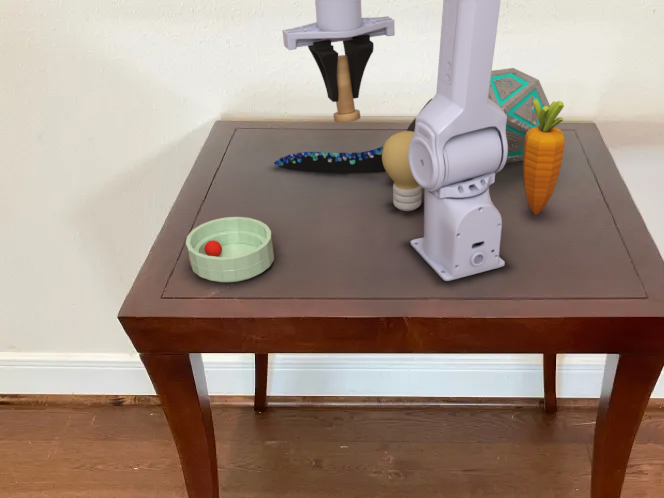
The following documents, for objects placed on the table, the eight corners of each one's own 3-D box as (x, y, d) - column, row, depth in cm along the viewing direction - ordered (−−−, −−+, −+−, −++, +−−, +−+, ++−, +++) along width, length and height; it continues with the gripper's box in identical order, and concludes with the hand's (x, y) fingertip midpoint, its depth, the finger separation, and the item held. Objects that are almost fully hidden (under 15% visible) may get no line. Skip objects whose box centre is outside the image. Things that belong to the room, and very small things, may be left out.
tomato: (226, 251, 85) (213, 262, 85) (224, 248, 87) (211, 259, 87) (215, 238, 84) (201, 249, 84) (213, 235, 86) (200, 246, 86)
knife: (487, 176, 101) (486, 144, 98) (483, 185, 98) (482, 153, 96) (285, 173, 109) (279, 144, 106) (277, 182, 107) (270, 152, 104)
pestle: (364, 118, 99) (355, 55, 95) (339, 123, 97) (329, 59, 94) (355, 115, 102) (346, 53, 98) (330, 120, 100) (321, 58, 97)
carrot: (509, 209, 96) (521, 94, 86) (543, 203, 97) (557, 89, 88) (527, 226, 92) (541, 109, 83) (561, 220, 94) (579, 103, 84)
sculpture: (526, 175, 121) (519, 186, 93) (454, 137, 122) (426, 137, 94) (565, 100, 117) (571, 89, 89) (491, 61, 117) (473, 38, 89)
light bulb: (400, 223, 93) (399, 147, 87) (374, 203, 97) (371, 130, 91) (440, 210, 96) (443, 136, 90) (413, 191, 100) (414, 119, 94)
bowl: (285, 273, 84) (281, 247, 82) (202, 293, 81) (196, 266, 79) (261, 235, 91) (257, 210, 89) (183, 253, 88) (178, 227, 85)
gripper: (378, -26, 95) (380, 80, 104) (270, -15, 90) (282, 96, 99) (401, -15, 90) (401, 96, 99) (288, -2, 85) (299, 113, 94)
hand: (343, 97), depth 99 cm, fingers closed on pestle, 2 cm apart
